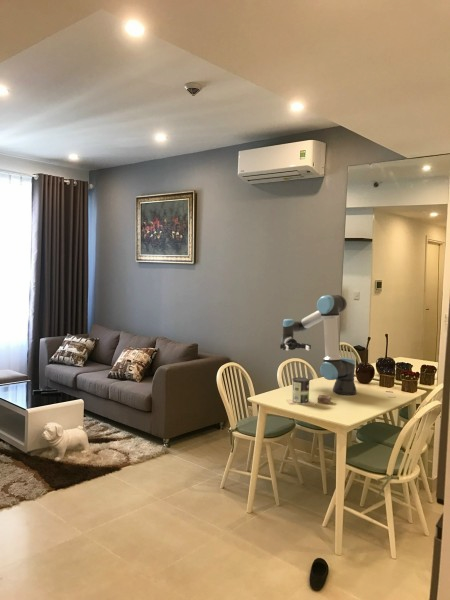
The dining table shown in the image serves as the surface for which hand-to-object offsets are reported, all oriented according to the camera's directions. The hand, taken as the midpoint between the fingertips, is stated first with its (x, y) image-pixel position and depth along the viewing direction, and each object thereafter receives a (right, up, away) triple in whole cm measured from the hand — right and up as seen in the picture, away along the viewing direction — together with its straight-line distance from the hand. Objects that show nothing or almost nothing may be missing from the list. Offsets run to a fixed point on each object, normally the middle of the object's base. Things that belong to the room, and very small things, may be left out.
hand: (298, 348), depth 309 cm
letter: (-1, -31, -16) cm, 35 cm away
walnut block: (+13, -32, -15) cm, 37 cm away
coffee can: (-1, -31, -16) cm, 35 cm away
